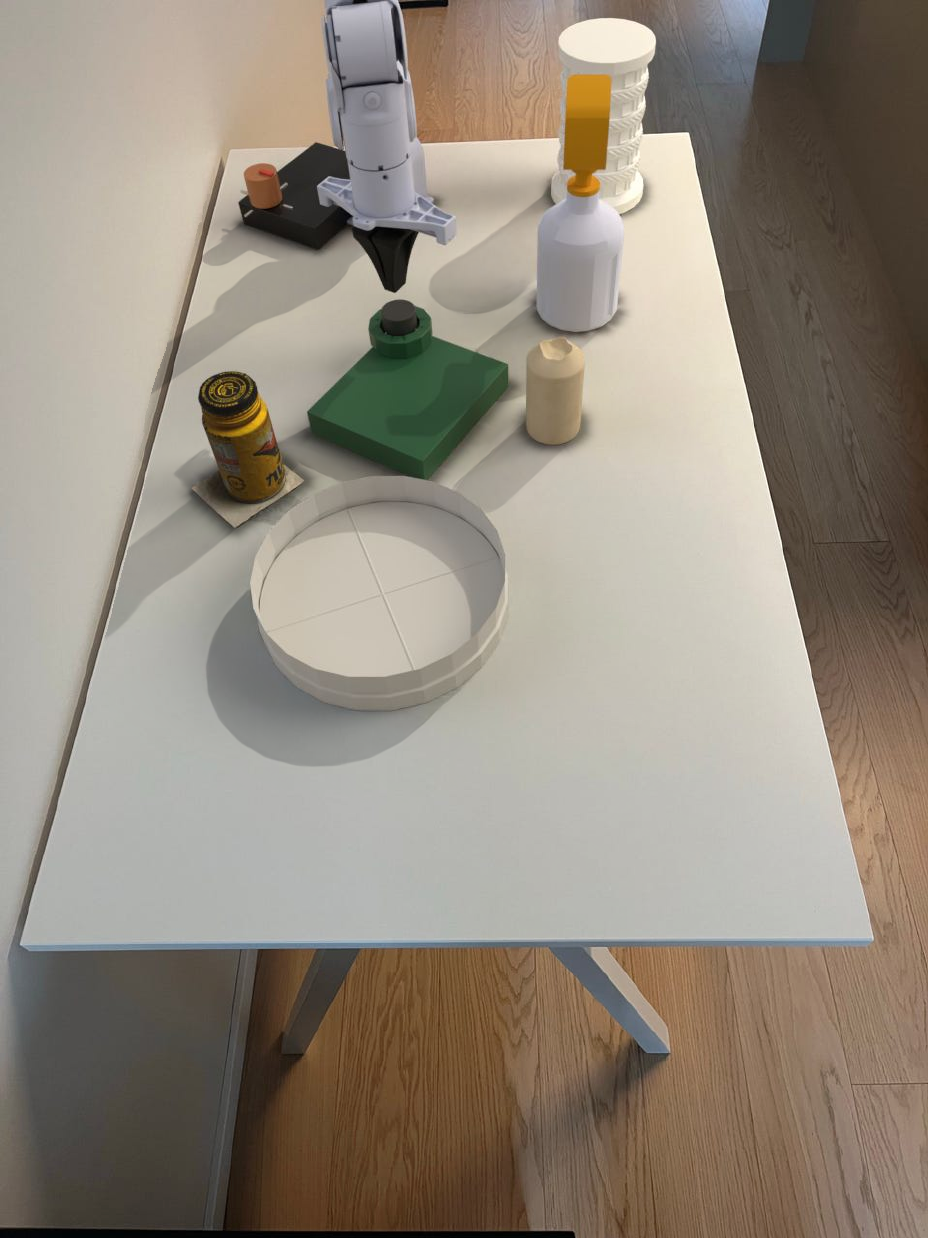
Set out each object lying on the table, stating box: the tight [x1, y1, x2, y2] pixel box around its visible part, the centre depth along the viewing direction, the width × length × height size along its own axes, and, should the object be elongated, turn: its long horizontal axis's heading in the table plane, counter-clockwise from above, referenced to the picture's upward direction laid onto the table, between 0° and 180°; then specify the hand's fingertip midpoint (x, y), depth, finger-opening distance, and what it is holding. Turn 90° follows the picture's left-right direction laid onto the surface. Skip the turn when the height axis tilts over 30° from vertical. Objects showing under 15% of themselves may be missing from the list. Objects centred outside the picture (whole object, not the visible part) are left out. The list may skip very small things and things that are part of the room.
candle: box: [525, 336, 586, 446], centre depth 92 cm, size 6×6×10 cm
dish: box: [249, 475, 509, 712], centre depth 82 cm, size 22×22×5 cm
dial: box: [243, 162, 282, 209], centre depth 116 cm, size 4×4×4 cm
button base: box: [306, 305, 510, 481], centre depth 97 cm, size 17×15×5 cm
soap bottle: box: [536, 75, 625, 333], centre depth 97 cm, size 9×9×25 cm
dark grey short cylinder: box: [380, 298, 417, 336], centre depth 99 cm, size 4×4×2 cm
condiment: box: [191, 370, 305, 529], centre depth 89 cm, size 7×8×12 cm
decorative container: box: [550, 17, 657, 215], centre depth 113 cm, size 12×12×18 cm
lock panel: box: [237, 141, 352, 251], centre depth 121 cm, size 18×13×3 cm
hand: (395, 285), depth 96 cm, fingers closed
